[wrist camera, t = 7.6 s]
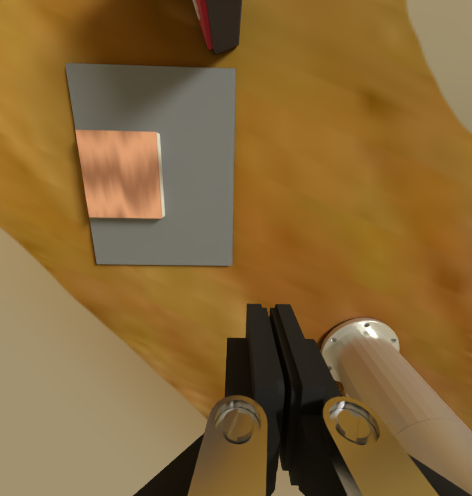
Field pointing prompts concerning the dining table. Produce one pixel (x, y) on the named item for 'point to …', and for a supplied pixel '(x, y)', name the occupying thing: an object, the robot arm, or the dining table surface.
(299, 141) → the dining table surface
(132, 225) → the mat
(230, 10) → the grey and red box
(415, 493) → the robot arm
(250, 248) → the dining table surface
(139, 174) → the tile
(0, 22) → the dining table surface
